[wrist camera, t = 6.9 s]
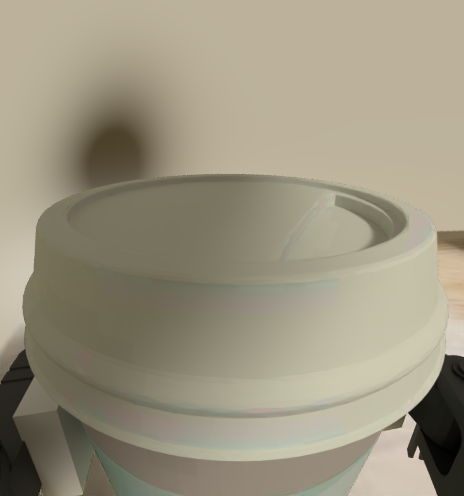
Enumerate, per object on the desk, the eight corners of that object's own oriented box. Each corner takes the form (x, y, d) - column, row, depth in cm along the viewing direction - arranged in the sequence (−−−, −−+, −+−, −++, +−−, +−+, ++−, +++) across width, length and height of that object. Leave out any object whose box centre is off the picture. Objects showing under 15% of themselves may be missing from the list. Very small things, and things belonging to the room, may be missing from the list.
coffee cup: (161, 893, 5) (-178, 633, 1) (90, 472, 12) (8, 184, 7) (405, 559, 10) (566, 216, 5) (253, 384, 16) (265, 166, 12)
